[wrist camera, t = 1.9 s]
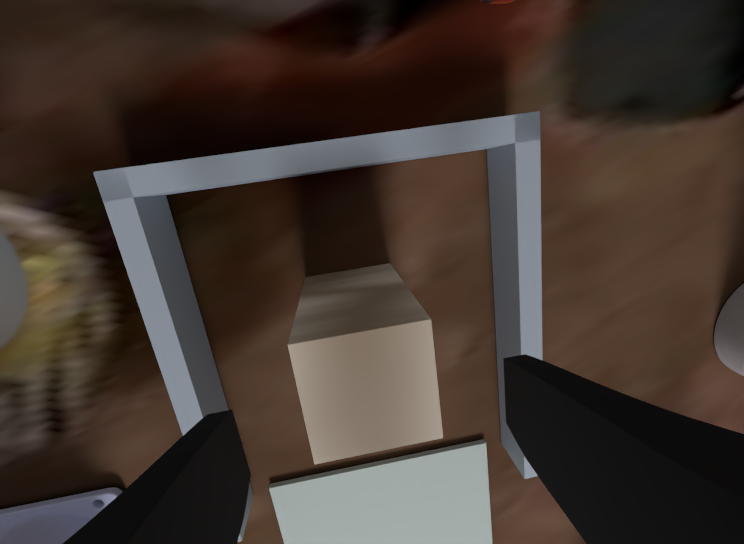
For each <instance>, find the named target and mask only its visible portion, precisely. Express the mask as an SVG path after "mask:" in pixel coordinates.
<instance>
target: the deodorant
mask: <svg viewBox="0 0 744 544" xmlns="http://www.w3.org/2000/svg"><path fill="white" fill-rule="evenodd" d="M478 1H481V2H484V3H487V4H507V3H510V2H513V1H516V0H478Z"/></svg>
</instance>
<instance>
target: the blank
mask: <svg viewBox="0 0 744 544" xmlns="http://www.w3.org/2000/svg"><path fill="white" fill-rule="evenodd" d="M288 349H289V353H290V358H291V362H292V367H293V371H294V376H295V380H296V384H297V389H298V393H299V398H300V402H301V407H302V411H303V415H304V420H305V424H306V429H307V433H308V438H309V442H310V446H311V451H312V455H313V460H314V464H319V463H324V462H329V461H334V460H338V459H343V458H348V457H353V456H358V455H363V454H368V453H372V452H377V451H382V450H387V449H392V448H397V447H402V446H406V445H411V444H416V443H421V442H426V441H431V440H436V439H440V438H443V431H442V422H441V412H440V402H439V392H438V382H437V373H436V363H435V353H434V343H433V334H432V324H431V319H430V317H429V316H428V314H427V313H426V312H425V310H424V309H423V308H422V306H421V305H420V304H419V302H418V301H417V299H416V298H415V297H414V295H413V294H412V293H411V291H410V290H409V289H408V287H407V286H406V284H405V283H404V282H403V280H402V279H401V278H400V276H399V275H398V274H397V272H396V271H395V269H394V268H393V267H392V265H391V264H390V263H388V264H382V265H376V266H370V267H364V268H358V269H352V270H346V271H340V272H334V273H327V274H321V275H315V276H309V277H305V281H304V285H303V289H302V293H301V296H300V300H299V304H298V308H297V311H296V315H295V319H294V323H293V326H292V330H291V334H290V338H289V342H288Z"/></svg>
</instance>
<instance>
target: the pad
mask: <svg viewBox="0 0 744 544" xmlns="http://www.w3.org/2000/svg"><path fill="white" fill-rule="evenodd" d="M269 490H270V493H271V497H272V501H273V504H274V508H275V512H276V515H277V519H278V522H279V526H280V530H281V533H282V537H283V541H284V544H492V529H491V513H490V497H489V481H488V466H487V450H486V442H485V440H484V439H482V440H477V441H472V442H468V443H463V444H458V445H453V446H448V447H444V448H439V449H434V450H429V451H424V452H420V453H415V454H410V455H405V456H400V457H396V458H391V459H386V460H381V461H377V462H372V463H367V464H362V465H357V466H353V467H348V468H343V469H338V470H333V471H329V472H324V473H319V474H314V475H309V476H305V477H300V478H295V479H290V480H285V481H281V482H276V483H271V484H270V487H269Z"/></svg>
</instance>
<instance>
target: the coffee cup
mask: <svg viewBox="0 0 744 544" xmlns="http://www.w3.org/2000/svg"><path fill="white" fill-rule="evenodd" d="M714 345H715V350H716V353H717V355H718V357H719V359H720V360H721V361H722V363H723V364H724V365H726V366H727V367H728V368H730V369H732V370H733V371H735V372H737V373H739V374H741V375H742V376H744V283H743V284H742V285H741V286H740V287H739V288H738V289H737V290H736V291H735V292H734V293H733V294H732V295H731V296H730V298H729V299H728V300H727V302H726V303H725V305H724V306H723V308H722V310H721V312H720V314H719V317H718V319H717V322H716V326H715V331H714Z"/></svg>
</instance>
